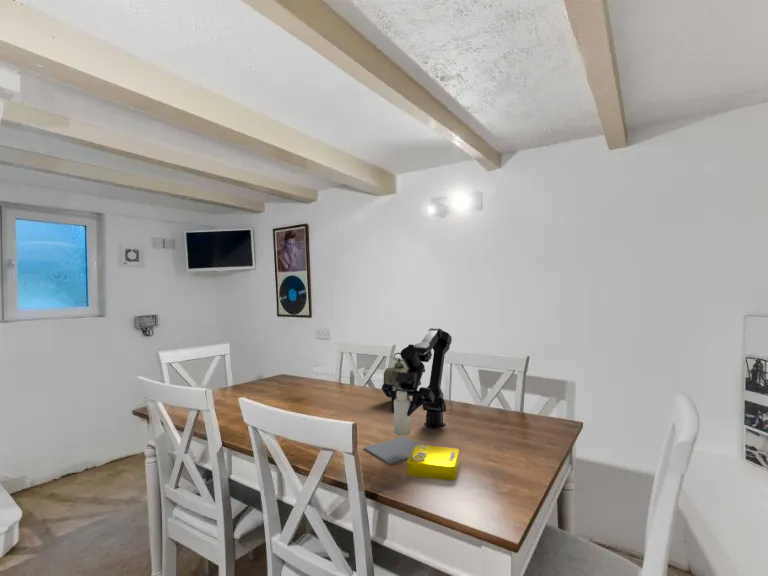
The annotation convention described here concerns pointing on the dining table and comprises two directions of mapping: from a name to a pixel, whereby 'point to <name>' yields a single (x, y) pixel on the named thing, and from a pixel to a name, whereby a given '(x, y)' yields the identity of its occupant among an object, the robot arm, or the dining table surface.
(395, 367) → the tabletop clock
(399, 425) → the white bottle
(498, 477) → the dining table surface
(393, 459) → the slate mat
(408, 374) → the robot arm
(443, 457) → the element tile
